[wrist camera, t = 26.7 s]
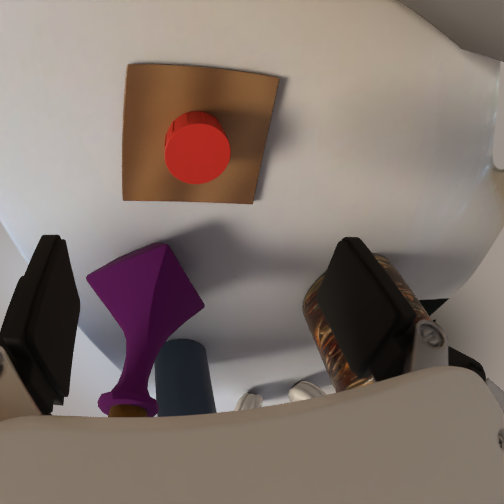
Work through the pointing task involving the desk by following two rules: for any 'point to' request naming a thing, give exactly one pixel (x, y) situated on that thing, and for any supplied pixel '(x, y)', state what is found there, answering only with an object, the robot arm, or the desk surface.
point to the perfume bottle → (143, 319)
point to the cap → (196, 148)
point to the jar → (326, 340)
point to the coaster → (187, 100)
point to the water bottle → (183, 379)
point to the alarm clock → (467, 23)
